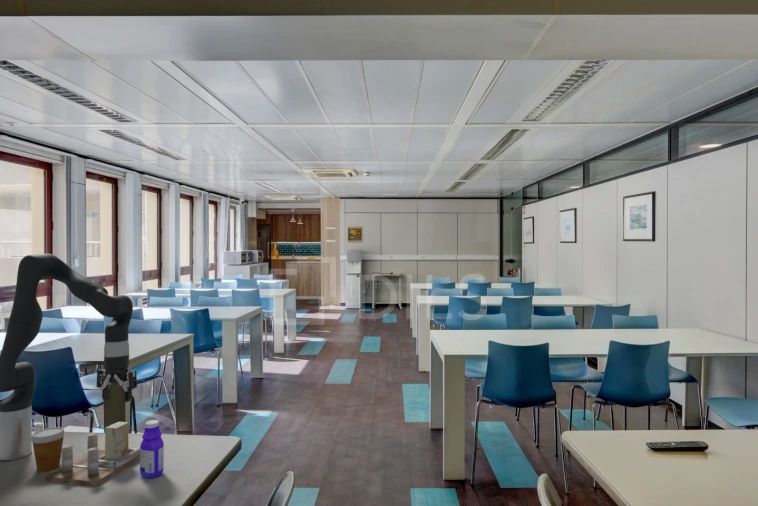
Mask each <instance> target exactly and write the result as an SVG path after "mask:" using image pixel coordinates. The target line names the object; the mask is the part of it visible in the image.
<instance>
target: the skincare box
mask: <svg viewBox="0 0 758 506" xmlns="http://www.w3.org/2000/svg"><path fill="white" fill-rule="evenodd" d="M129 424H130V423H129V422H127V421H117V422H115V423H112V424H110V425H107V426H105V428H104V429H105V430H104V433H105V436H104V441H105V443H104V450H105V460H108V461H117V460H119V459H121V458H122V457H124V456H126V455H127V454H128V448H129V427H130V426H129Z"/></svg>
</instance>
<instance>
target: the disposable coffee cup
mask: <svg viewBox="0 0 758 506" xmlns="http://www.w3.org/2000/svg"><path fill="white" fill-rule="evenodd" d="M65 434H66V431H65V430H64V427H60V426H57V427H56V426H52V427H48V428H43V429H40V430H37V431H35V432H33V434H32V438H31V441H32V449H33V454H34V462H35V466H36V467H35V468H36V471H37V470H38V472H47V471H46V470H48V471H51V470H50V469H52V470H54V469H57V468H58V467H59V466H60V465H59V464H61V459H62V447H63V443H64V438H65V437H64V436H65ZM57 466H58V467H57ZM53 468H54V469H53Z"/></svg>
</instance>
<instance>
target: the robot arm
mask: <svg viewBox="0 0 758 506" xmlns="http://www.w3.org/2000/svg"><path fill="white" fill-rule="evenodd" d="M17 267H18V268H17V272H16V273H17V274H16V283H15V284H16V285H15V294H14V298H13V303H12V307H11V312H10V315H9V317H8V319H9V320H8V324H7V326H6V327H7V328H6V332H5V336H4V339H3V340H4V341H3V344H2V348H1V351H0V393H6V392H11V394H9V396H7V397H6V398H4V399H3V400H1V401H0V461H1V460H10V461H14V460H15V461H16V460H19V459H22V458H25V457H27V456H29V455H30V454H32V449H33V443H32V441H31V438H32V435H33V434H32V432H33V430H32V429H33V428H32V425H33V424H32V421H33V420H32V414H33V413H32V411H33V409H32V407H33V405H32V401H33V399H34V396H35V392H34V391H35V390H34V389H35V379H36V377H35V376H36V375H35V369H34V367H33V365H32V364H31V363H30V362H28V361H20V362H18V360H19V358H20V356H21V355H22V354H23V352H24V351H25V350H26V349H27V347H29V345H31V343H32V342H33V341H34V340H35V338H36V337H37V336H38V334H39V332H40V330H41V326H42V321H43V317H44V316H43V310H42V308H41V306H40V303H39V302H38V301H39V300H38V299H37V292H38V287H39V283H40V282H41V281H46V280H50V279H51V280H54V281H57V282H60V283H63V284H64V285H65V286H66V287H67V288H68V290H69V291H70V293H71V294H72V295H73V296H74V297H75V298H77V299H79V300H81V301H82V302H85V303H86V304H88V305H90V306H92V307H93V309H95V311H96V312H98V314H100V315H102V316H104V317H107V318H112V320H111V322H109V324H106V326H105V328H104V348H103V368H101V369H99V370H97V372H96V388H100V390H101V398H102V401H108V400H110V386H111V385H112V384H116V385H119V386H120V387H122V388H123V390H124V391H123V402H124V403H129V402H130V401H131V400H132V391H133V390H134V389H136V388H138V380H137V379H138V378H137V377H138V376H137V371H136V370H131V371H129V369H128V368H129V365H130V343H129V326H130V324H131V319H132V316H133V311H134V310H133V309H134V306H133V301H132V299H131V298H130V297H129V296H128V295H122V294H121V295H113V296H111V295H109V291H108V290H107V289H106V288H105V287H103V286H102V285H100V284H98V283H96V282H94V281H92V280H90V279H88V278H87V277H85V276H83V275H82V274H81V273H79V272H77V271H76V270H75V269H73V268H72V267H71V266H69V265H68V264H67V263H65V262H64V261H63V259H61V258H59V257H57V256H56V255H54V254H52V253H34V254H29V255H25V256H23V258H22V259H21V260H20V262H19V264H18V266H17Z"/></svg>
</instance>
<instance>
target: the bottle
mask: <svg viewBox="0 0 758 506" xmlns="http://www.w3.org/2000/svg"><path fill="white" fill-rule="evenodd" d="M144 424H145V425H144V432H143V434H142V437H141V438H142V441H141V443H140V445H139V449H140V460H139V473H140V476H141V477H143V478H146V479H154V478H155V479H156V478H157V477H159V476H161V475H162V474H163V473H164V468H165V466H164V455H165V450H164V449H165V448H164V447H165V444H164V441H163V438H162V434H163V433H162V432H161V429H160V421H159V420H157V419H151V420H147V421H146V422H145V423H144Z"/></svg>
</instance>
